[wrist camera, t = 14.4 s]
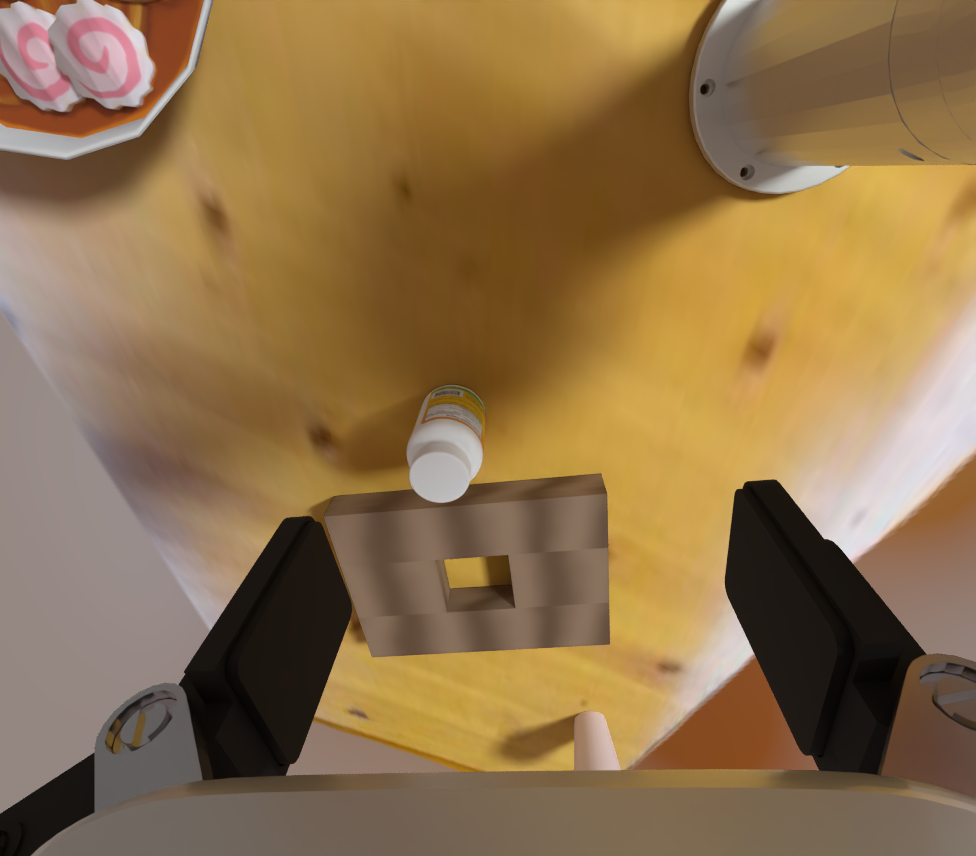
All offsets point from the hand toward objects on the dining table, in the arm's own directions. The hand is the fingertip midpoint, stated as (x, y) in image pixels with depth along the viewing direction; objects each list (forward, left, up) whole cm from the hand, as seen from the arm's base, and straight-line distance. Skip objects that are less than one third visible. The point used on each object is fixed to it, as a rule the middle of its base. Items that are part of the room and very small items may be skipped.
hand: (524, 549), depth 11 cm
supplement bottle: (+6, +10, -28) cm, 30 cm away
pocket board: (+6, +26, -28) cm, 38 cm away
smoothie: (-4, +52, -28) cm, 59 cm away
